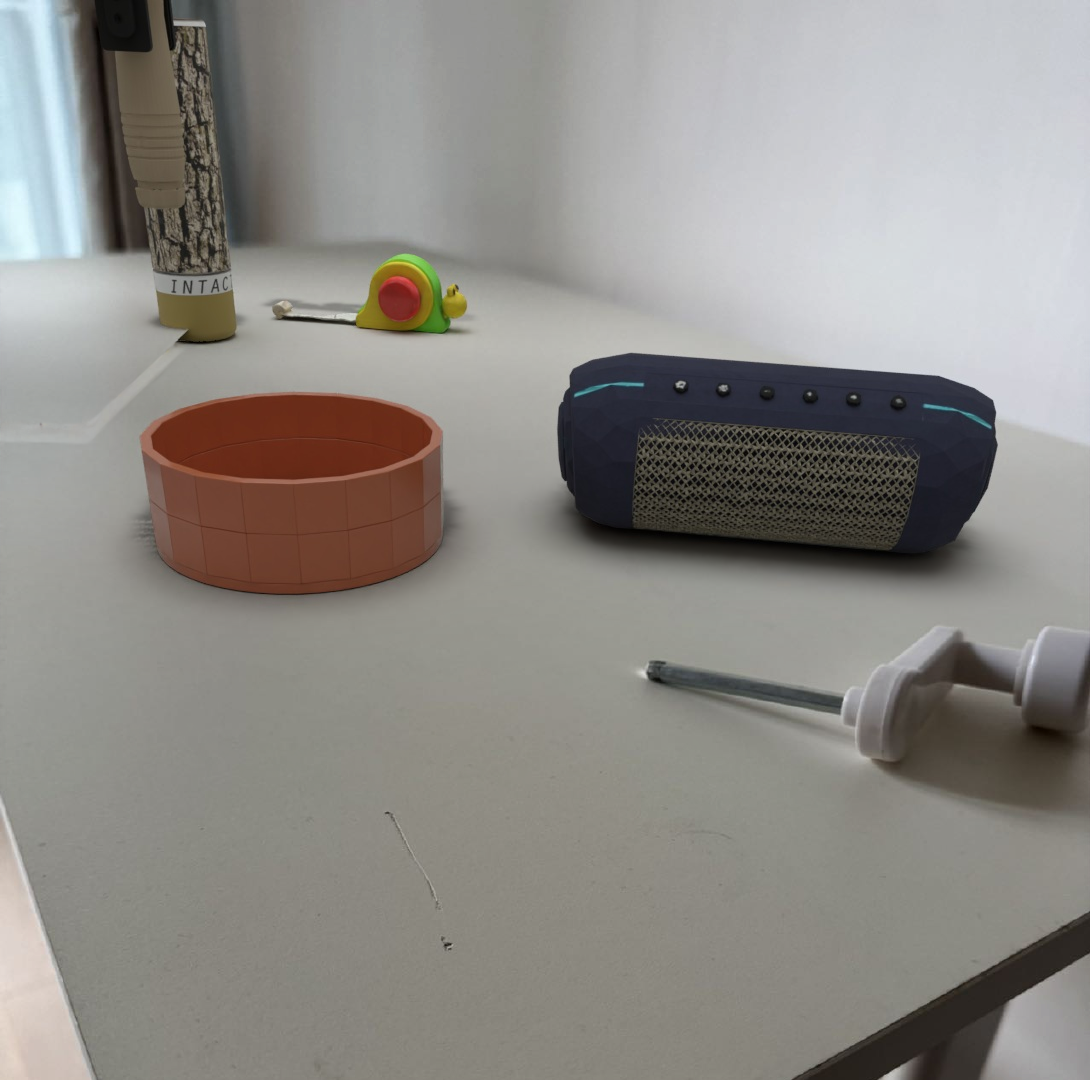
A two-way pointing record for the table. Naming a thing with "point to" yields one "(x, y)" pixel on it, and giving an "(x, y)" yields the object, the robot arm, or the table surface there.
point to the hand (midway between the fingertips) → (140, 47)
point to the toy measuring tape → (400, 299)
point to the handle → (152, 118)
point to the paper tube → (194, 208)
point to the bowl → (295, 490)
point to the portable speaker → (775, 451)
